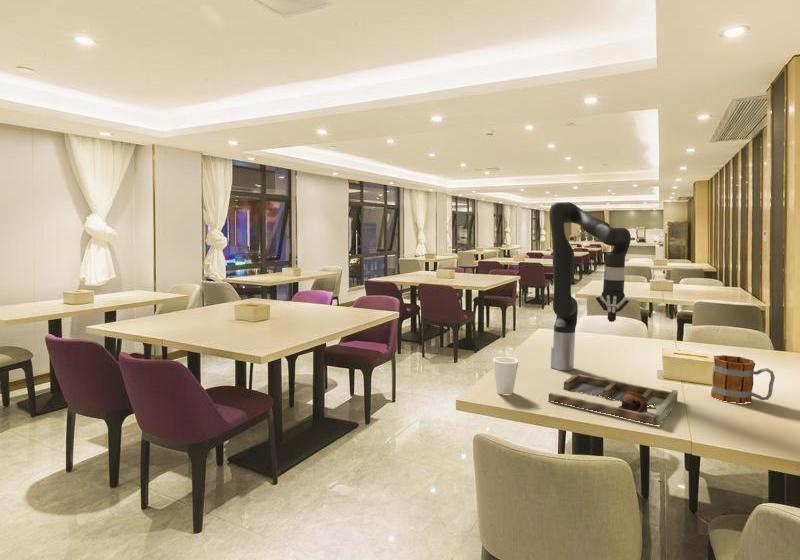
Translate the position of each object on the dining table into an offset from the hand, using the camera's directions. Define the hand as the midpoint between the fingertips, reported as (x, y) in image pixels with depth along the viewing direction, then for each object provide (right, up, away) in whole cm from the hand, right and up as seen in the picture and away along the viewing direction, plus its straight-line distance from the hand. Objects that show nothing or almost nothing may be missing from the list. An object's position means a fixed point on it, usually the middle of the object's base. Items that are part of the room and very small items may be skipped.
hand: (611, 321), depth 195 cm
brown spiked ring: (-3, -30, -26) cm, 40 cm away
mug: (+43, -29, -12) cm, 53 cm away
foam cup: (-44, -28, -5) cm, 52 cm away
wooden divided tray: (-6, -28, -14) cm, 32 cm away
